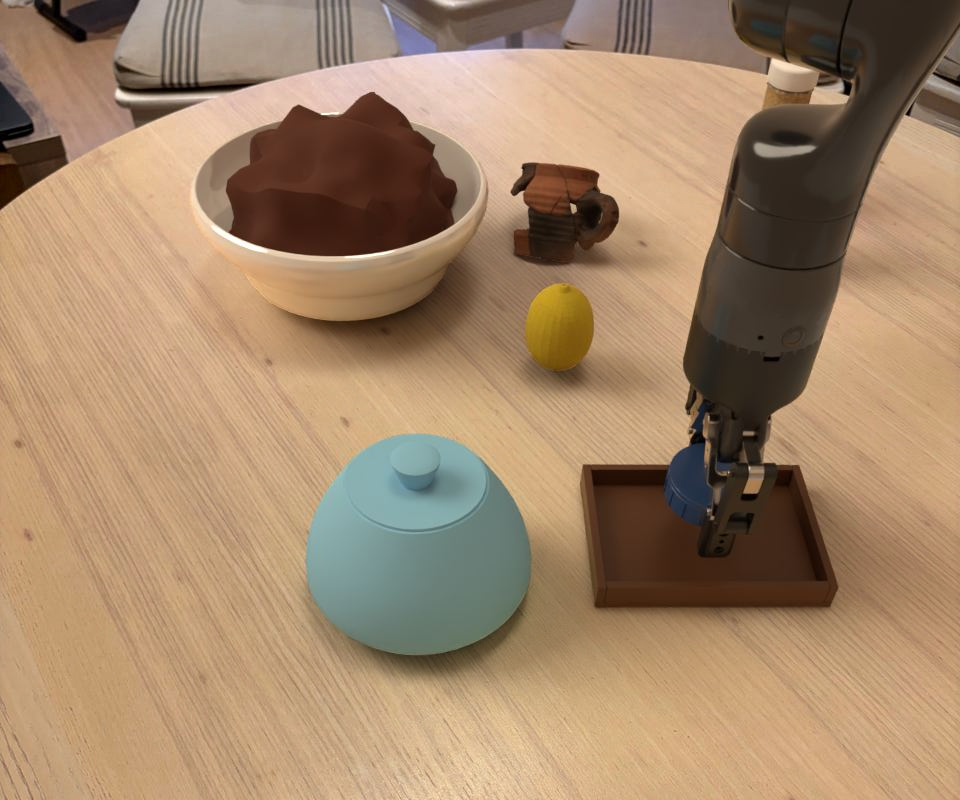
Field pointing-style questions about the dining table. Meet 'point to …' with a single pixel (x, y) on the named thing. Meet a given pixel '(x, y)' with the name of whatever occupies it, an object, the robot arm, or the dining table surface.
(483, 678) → the dining table surface
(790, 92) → the sprinkles bottle
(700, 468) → the lid
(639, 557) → the tray
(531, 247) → the pottery mug
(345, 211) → the bowl of chocolate mousse
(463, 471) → the sugar bowl
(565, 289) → the lemon
